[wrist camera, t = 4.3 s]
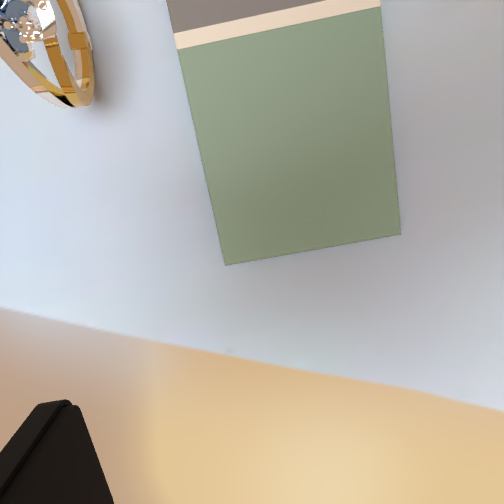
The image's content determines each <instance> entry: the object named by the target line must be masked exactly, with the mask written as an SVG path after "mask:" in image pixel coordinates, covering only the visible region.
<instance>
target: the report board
mask: <svg viewBox="0 0 504 504" xmlns="http://www.w3.org/2000/svg"><path fill="white" fill-rule="evenodd" d="M166 2H167V6H168V11H169V15H170V20H171V24H172V29H173V35H174V39H175V43H176V48H177V51H178V56H179V60H180V65H181V69H182V74H183V78H184V83H185V87H186V92H187V96H188V101H189V105H190V110H191V114H192V119H193V123H194V128H195V132H196V137H197V141H198V146H199V150H200V155H201V159H202V164H203V168H204V173H205V177H206V182H207V186H208V191H209V195H210V200H211V204H212V209H213V213H214V218H215V222H216V227H217V231H218V236H219V240H220V244H221V249H222V253H223V258H224V262H225V266H226V265H232V264H237V263H243V262H249V261H254V260H260V259H266V258H271V257H277V256H282V255H288V254H294V253H299V252H305V251H311V250H316V249H322V248H327V247H333V246H339V245H344V244H350V243H356V242H361V241H367V240H372V239H378V238H384V237H389V236H395V235H401V228H400V217H399V205H398V194H397V183H396V172H395V161H394V150H393V139H392V128H391V116H390V105H389V94H388V83H387V72H386V61H385V50H384V38H383V27H382V16H381V0H166Z"/></svg>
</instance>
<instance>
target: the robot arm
mask: <svg viewBox="0 0 504 504" xmlns="http://www.w3.org/2000/svg"><path fill="white" fill-rule="evenodd" d="M0 504H114V502H113V498H112V495H111V493H110V490H109V487H108V484H107V482H106V479H105V476H104V473H103V471H102V468H101V465H100V462H99V460H98V457H97V454H96V452H95V448H94V446H93V443H92V440H91V437H90V435H89V432H88V429H87V426H86V424H85V421H84V418H83V415H82V412H81V410H80V408H79V407H78V406H76V405H72V403H71V402H70V401H69V400H66V399H65V400H59V401H52V402H46V403H41V404H38V405H37V406H36V407H35V408H34V409H33V411H32V412H31V413H30V415H29V416H28V417H27V419H26V420H25V421H24V422H23V424H22V425H21V426H20V428H19V429H18V430H17V431H16V433H15V434H14V436H13V437H12V438H11V439H10V441H9V442H8V443H7V445H6V446H5V447H4V448H3V450H2V451H1V452H0Z"/></svg>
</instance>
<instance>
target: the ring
mask: <svg viewBox="0 0 504 504" xmlns="http://www.w3.org/2000/svg"><path fill="white" fill-rule="evenodd" d="M57 2H58V4H59V6H60V8H61V10H62V13H63V15H64V18H65V20H66V23H67V26H68V29H69V33H68V39H69V44H70V47H71V49H72V50H74V57H75V65H76V80H75V79H74V77H73V75H72V73H71V71H70V69H69V67H68V65H67V63H66V61H65V59H64V57H63V55H62V53H61V51H60V47H59V44H58V40H57V37H56V22H55V17H54V14H53V11H52V8H51V5H50V3H49V1H48V0H0V57H1V58H2V59H3V60H4V61H5V62H6V64H7V65H8V66H9V67H10V68H11V69H12V70H13V71H14V72H15V74H16V75H17V76H18V77H19V78H20V79H21V80H22V81H23V82H24V83H25V84H26V85H27V86H28V87H30V88H31V89H32V90H33V91H34V92H35V93H37V94H38V95H39V96H41V97H42V98H43V99H45V100H46V101H48V102H49V103H51V104H53V105H55V106H57V107H60V108H76V107H81V106H88V105H90V104H91V102H92V99H93V95H94V67H93V59H92V53H91V50H93V47H92V41H91V37H90V35H89V34H88V32H87V29H86V25H85V22H84V18H83V15H82V12H81V10H80V7H79V4H78V2H77V0H57ZM34 8H36V10H37V12H38V15H39V18H40V21H41V25H42V27H41V28H40V27H39V26H38V25H37V24H38V23H39V21H38V19H37V18H36V17H30V16H31V15H32V13H33V10H34ZM37 41H44V44H45V47H46V50H47V53H48V56H49V59H50V62H51V65H52V67H53V70H54V72H55V75H56V77H57V80H58V82H59V84H60V86H61V88H62V90H61V89H60V88H58V87H57V86H56V85H55V84H53V83H52V82H51V81H50V80H49V79H47V78H46V77H45V76H44V75H43V74H42V73H41V72H40V71H39V70H38V69H37V68H36V67H35V66H34V65H33V64H32V63H31V61H30V60H32V59H35V58H36V54H35V50H33V49H32V45H31V43H33V42H37Z"/></svg>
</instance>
